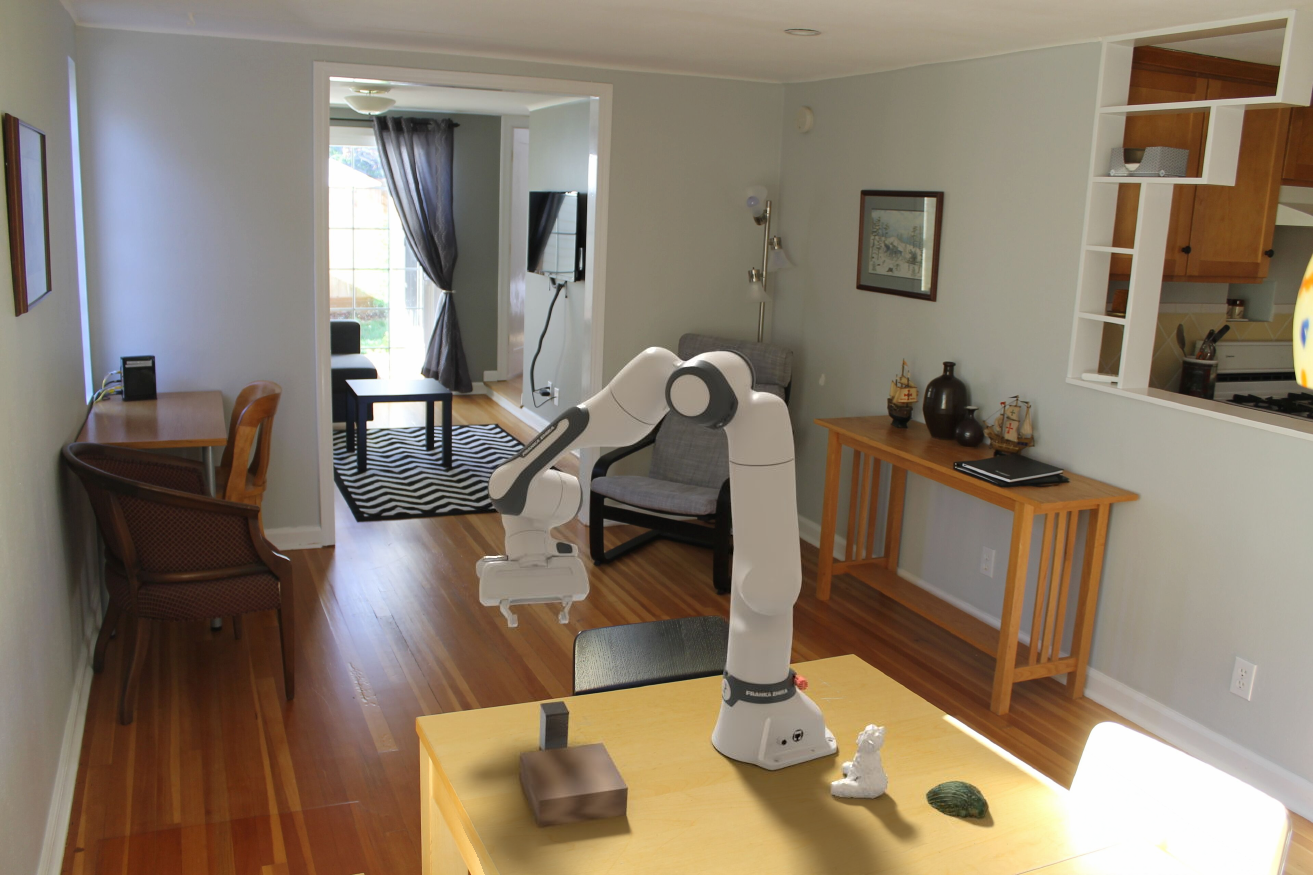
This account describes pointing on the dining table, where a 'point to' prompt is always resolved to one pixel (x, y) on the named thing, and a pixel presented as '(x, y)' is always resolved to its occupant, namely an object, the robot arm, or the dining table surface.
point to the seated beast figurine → (864, 768)
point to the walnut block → (572, 784)
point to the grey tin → (553, 725)
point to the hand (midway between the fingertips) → (539, 623)
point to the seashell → (957, 799)
